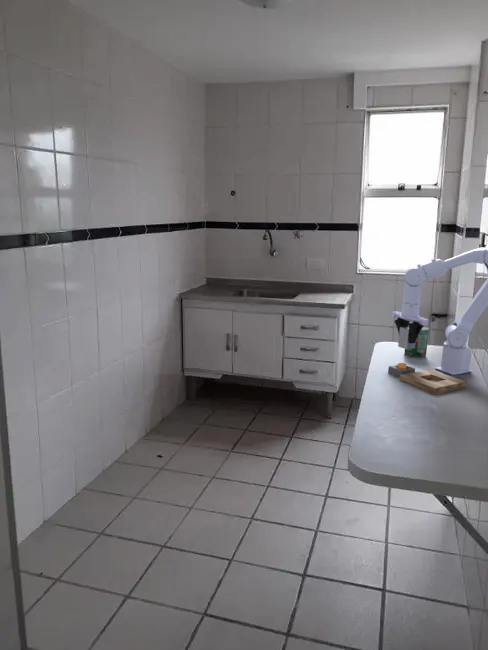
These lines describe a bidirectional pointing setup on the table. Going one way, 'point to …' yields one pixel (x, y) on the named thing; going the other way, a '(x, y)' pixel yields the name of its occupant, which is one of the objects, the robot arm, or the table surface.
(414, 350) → the canned tomato
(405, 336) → the billet
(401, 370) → the button housing
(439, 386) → the wooden board
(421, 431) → the table surface
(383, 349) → the table surface
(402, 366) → the button cap
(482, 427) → the table surface
